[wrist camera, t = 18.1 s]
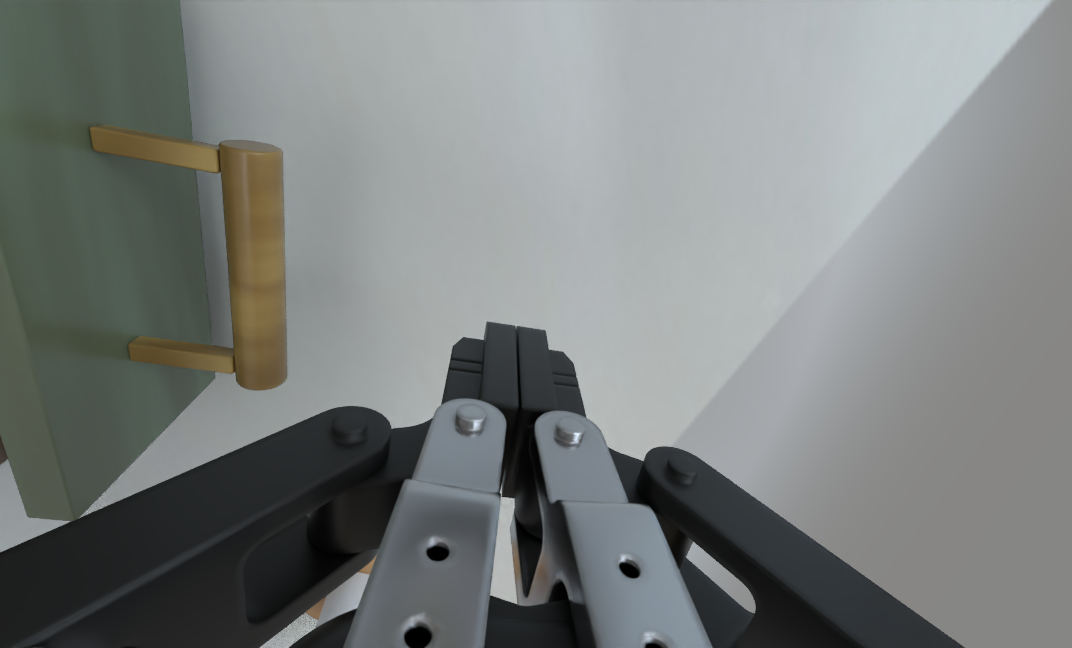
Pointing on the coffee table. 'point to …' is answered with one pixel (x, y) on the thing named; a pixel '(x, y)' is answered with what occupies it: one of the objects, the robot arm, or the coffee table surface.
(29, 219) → the drawer
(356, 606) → the glue stick
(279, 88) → the coffee table surface
